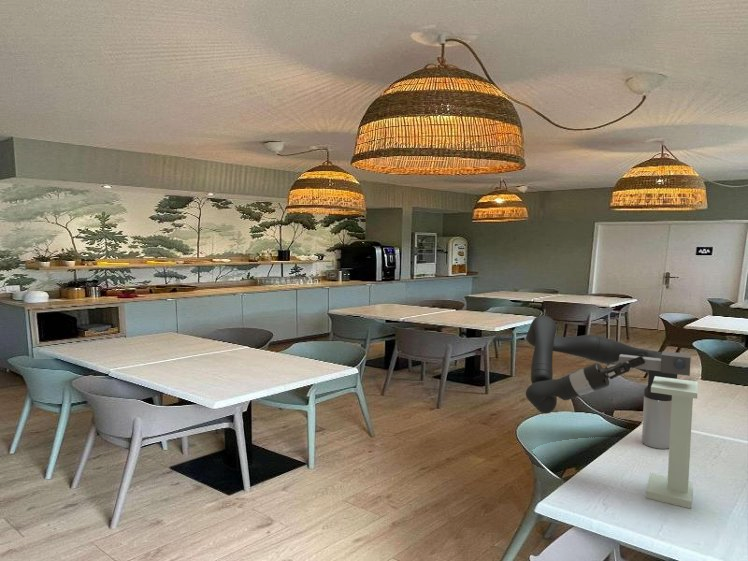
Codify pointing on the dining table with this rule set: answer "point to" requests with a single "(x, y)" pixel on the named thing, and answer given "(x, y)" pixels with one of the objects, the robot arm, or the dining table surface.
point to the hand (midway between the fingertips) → (644, 358)
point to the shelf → (675, 444)
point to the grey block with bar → (664, 363)
